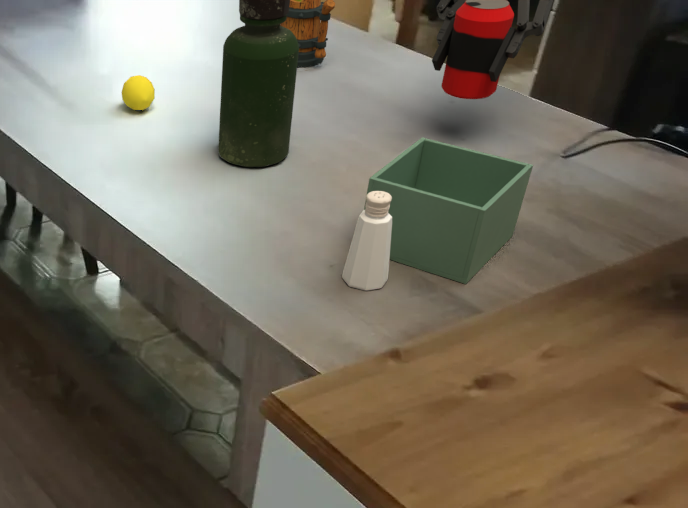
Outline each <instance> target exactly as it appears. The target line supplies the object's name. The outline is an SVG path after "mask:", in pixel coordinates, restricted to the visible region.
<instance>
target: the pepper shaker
mask: <svg viewBox="0 0 688 508" xmlns="http://www.w3.org/2000/svg"><path fill="white" fill-rule="evenodd" d="M391 200H392V197H391V195H390V194H389V193H387V192H384V191H372V192H370V193H368V194H367V193H366V196H365V202H366V201H367V202H366V205H365V204H364V208H366V209H365V210H364V209H363V210H362V212H361V213H360V214H359V215H358V218H357V221H356V225H355V228H354V232H353V235H352V238H351V242H350V246H349V250H348V252H347V256H346V261H345V262H344V263H345V264H344V267H343V271H342V274H341V279H343V281H344V282H345V283H346V284H347V286H348V287H349V288H351V289H352V288H353V289H356V290H360V291H365V292H368V291H373V290H379V289H382V288H383V287H384V286H385V284H386V283H387V282H388V280H389V271H390V270H389V269H390V245H391V232H392V216H391V215H390V214H389V213H388V210H389V208H390V202H391Z"/></svg>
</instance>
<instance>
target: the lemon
mask: <svg viewBox="0 0 688 508" xmlns="http://www.w3.org/2000/svg"><path fill="white" fill-rule="evenodd" d="M155 91H156V90H155V87H154V85H153V82H152V81H151V80H150V79H149V78H148V77H147V76H144V75H140V74H138V75H132V76H130V77H128V79H126V81H124V82H123V86H122V89H121V99H122V101H123V103H124V105H125V106H126V107H127V108H130V109H131V110H133V111H135V110H142V111H144V110H146V109H148V108H150V106H152V104H153V102H154V100H156V99H155V98H156V96H155V95H156V94H155V93H156V92H155Z"/></svg>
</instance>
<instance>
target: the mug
mask: <svg viewBox="0 0 688 508" xmlns="http://www.w3.org/2000/svg"><path fill="white" fill-rule="evenodd" d="M335 8H336V3H335V1H334V0H325V1H322V0H290V6H289V13H288V14H287V19H286V21H285V22H283V23H281V24H280V26H283V27H285V28H287V29H289V30H290V31H292V33H293V34H294V35H295V37H296V38H297V41H298V45H299V54H298V64H297V69H298V68H309V67H314V66H317V65H319V64H321V63H322V62H323V61H324V59H325V58H326V56H327V51H326V48H327V41H328V40H329V38H328V37H327V35H328V29H329V21H330V20H331V16H332V14H331V12H332V11H333V10H334V9H335Z"/></svg>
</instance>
